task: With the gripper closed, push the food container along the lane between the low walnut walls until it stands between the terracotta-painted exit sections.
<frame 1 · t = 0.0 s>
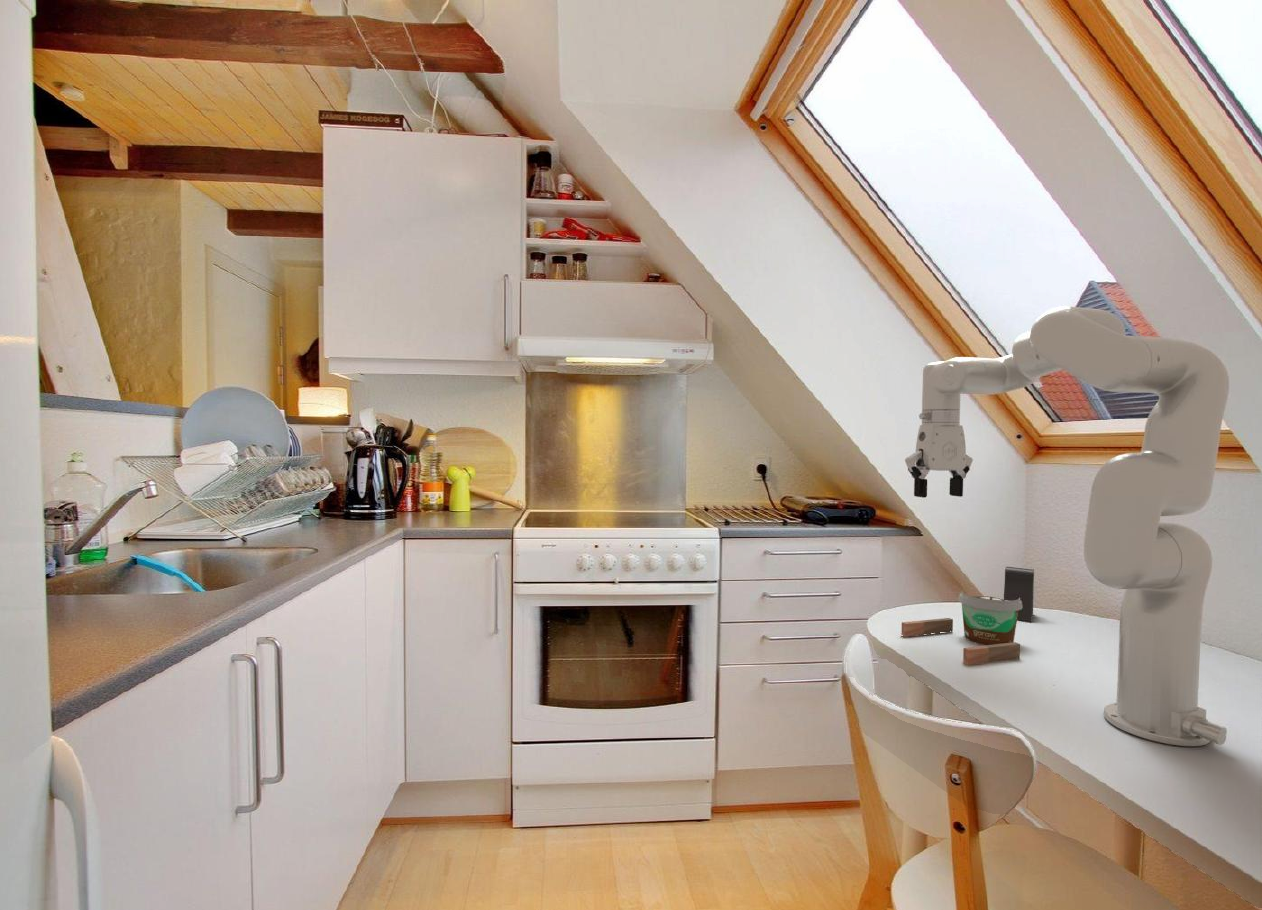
hand: (938, 496, 139), 31 cm above the table, tool pointing down, fingers open, 9 cm apart
lane walls: (957, 646, 133), on the table
phone stand: (1017, 617, 156), on the table
food container: (989, 644, 135), on the table
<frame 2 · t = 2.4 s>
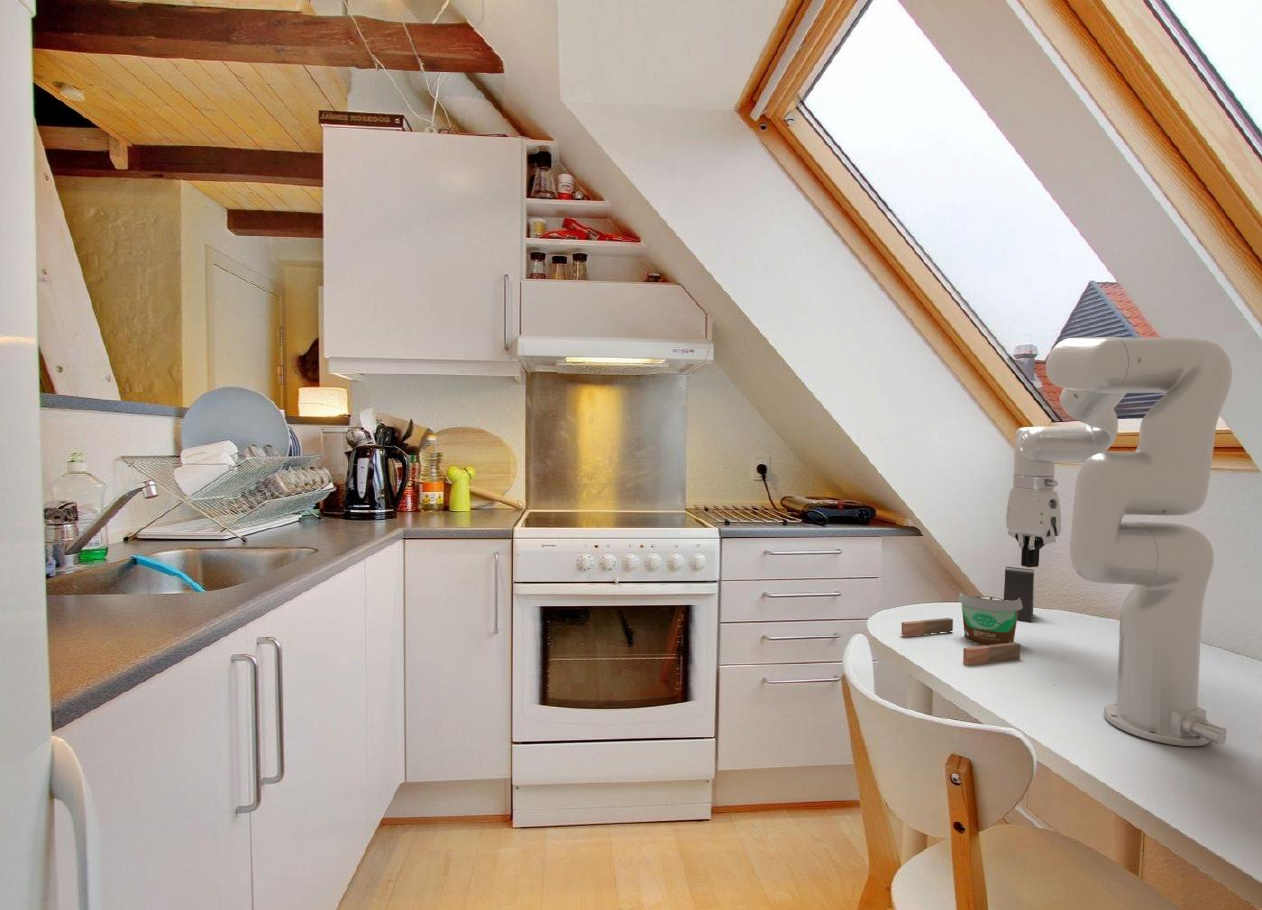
hand: (1029, 566, 138), 16 cm above the table, tool pointing down, fingers closed
nothing on the table moved.
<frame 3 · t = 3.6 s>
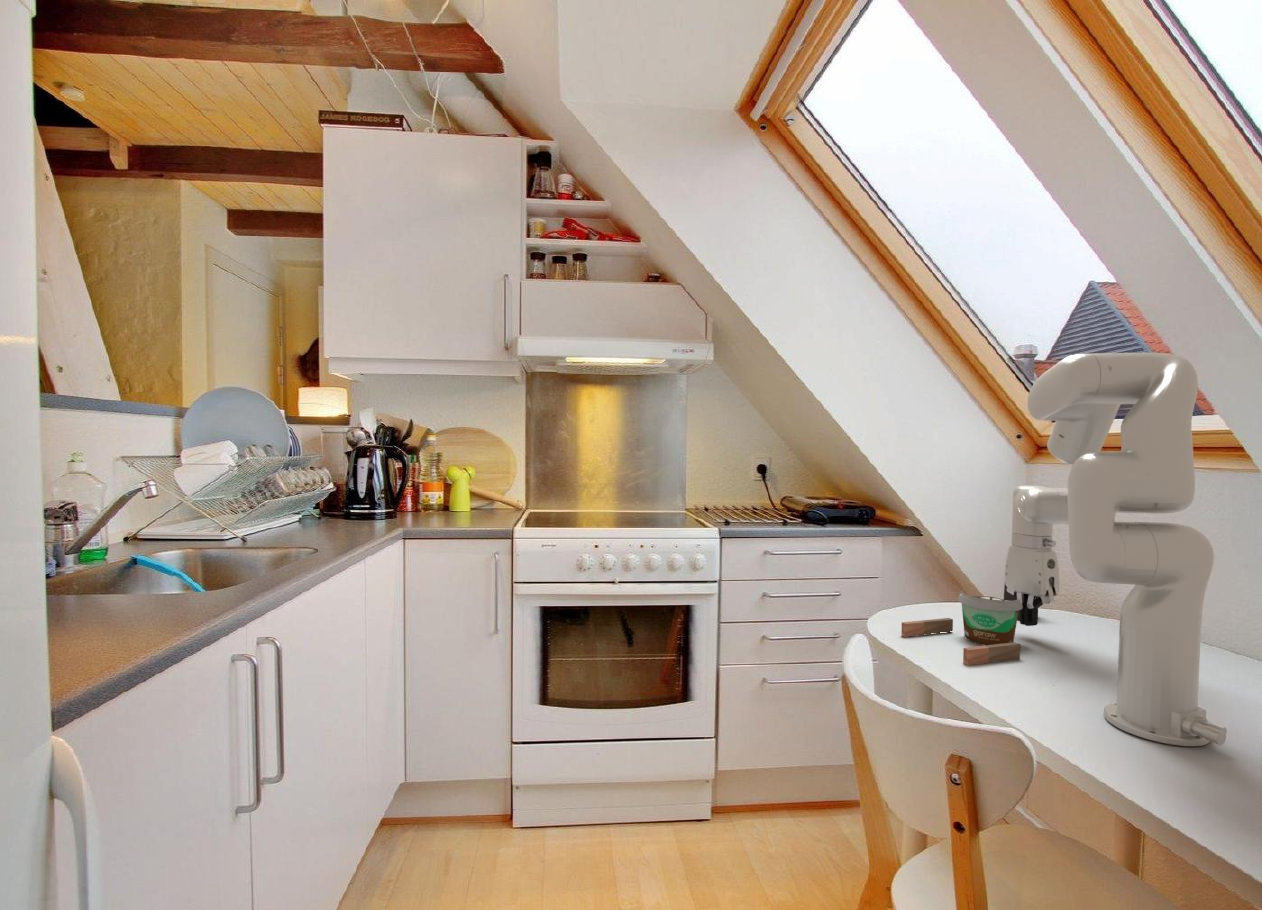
hand: (1028, 624, 138), 3 cm above the table, tool pointing down, fingers closed
nothing on the table moved.
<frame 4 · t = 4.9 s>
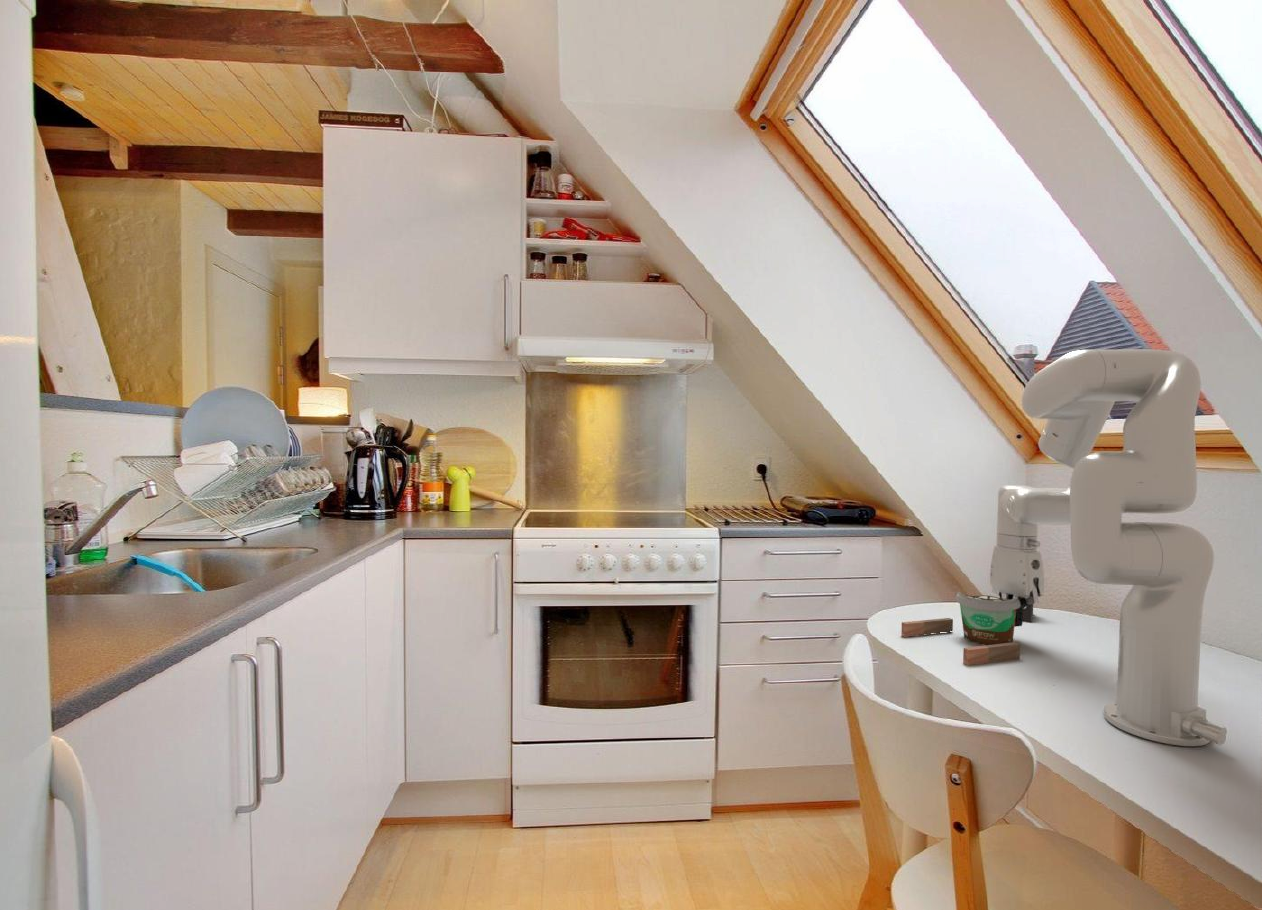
hand: (1013, 625, 137), 3 cm above the table, tool pointing down, fingers closed
food container: (988, 643, 135), on the table, touching gripper
everything else where it was.
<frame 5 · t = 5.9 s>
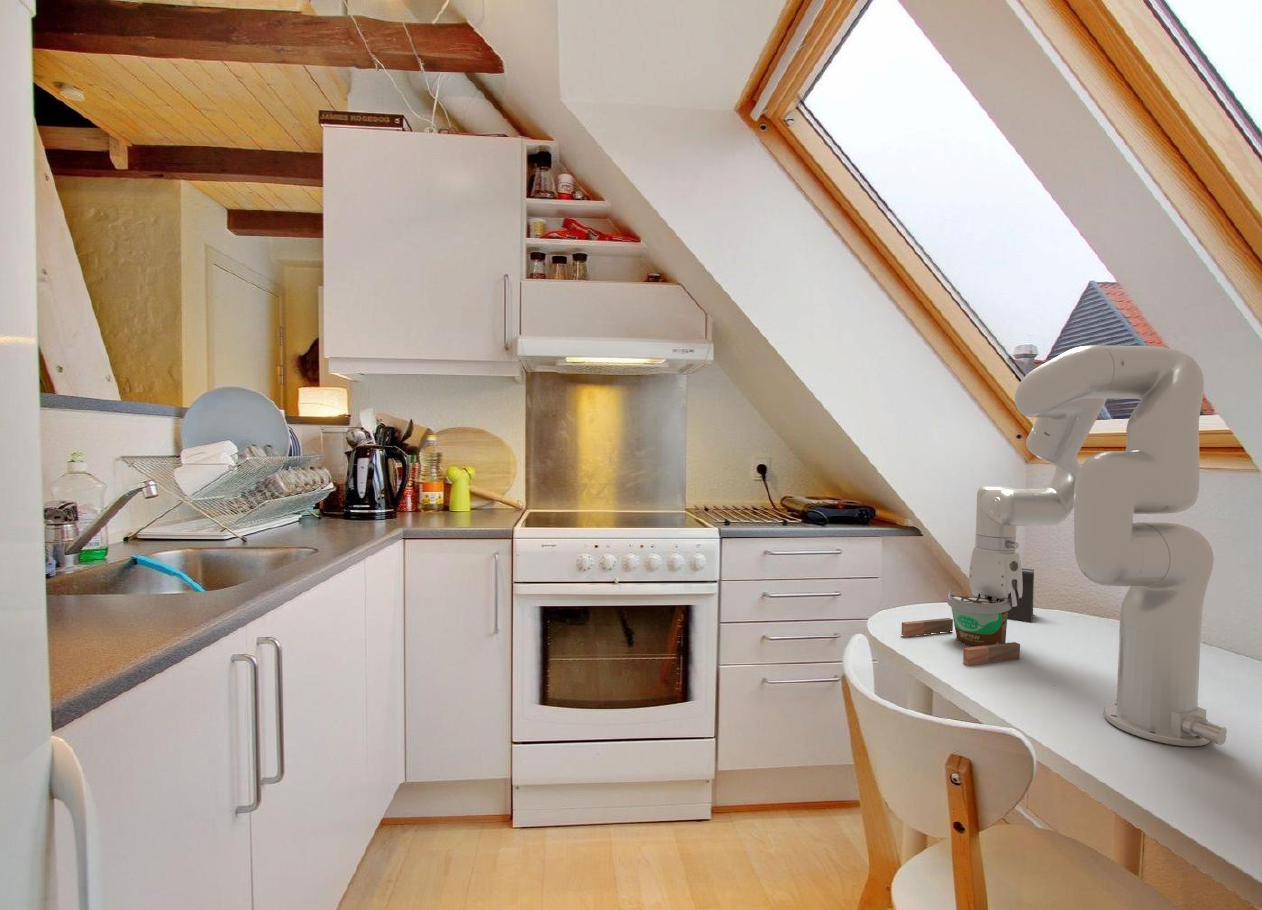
hand: (992, 627, 136), 3 cm above the table, tool pointing down, fingers closed
food container: (976, 644, 134), on the table, touching gripper
everything else where it was.
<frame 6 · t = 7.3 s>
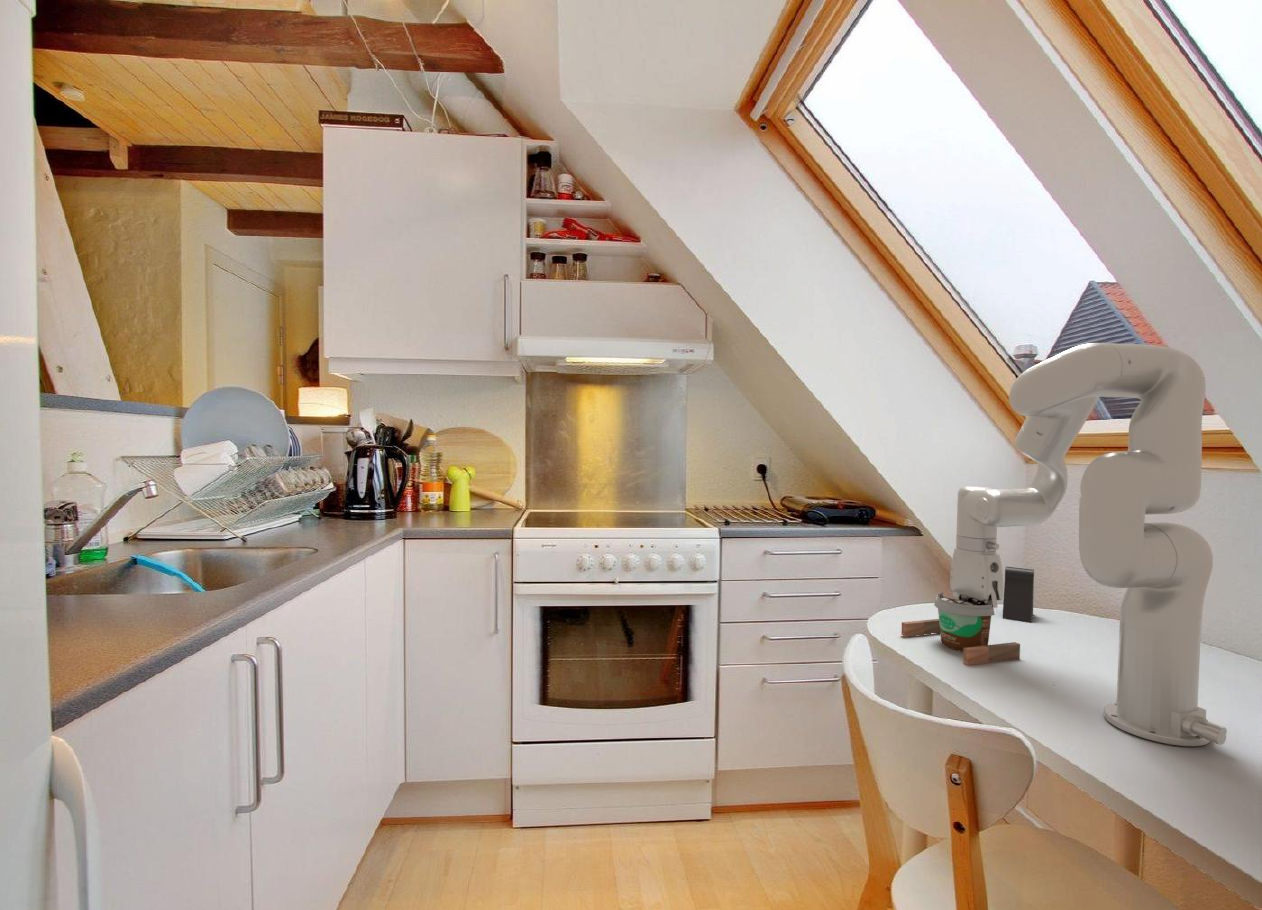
hand: (973, 629, 134), 3 cm above the table, tool pointing down, fingers closed
food container: (956, 647, 132), on the table, touching gripper
everything else where it was.
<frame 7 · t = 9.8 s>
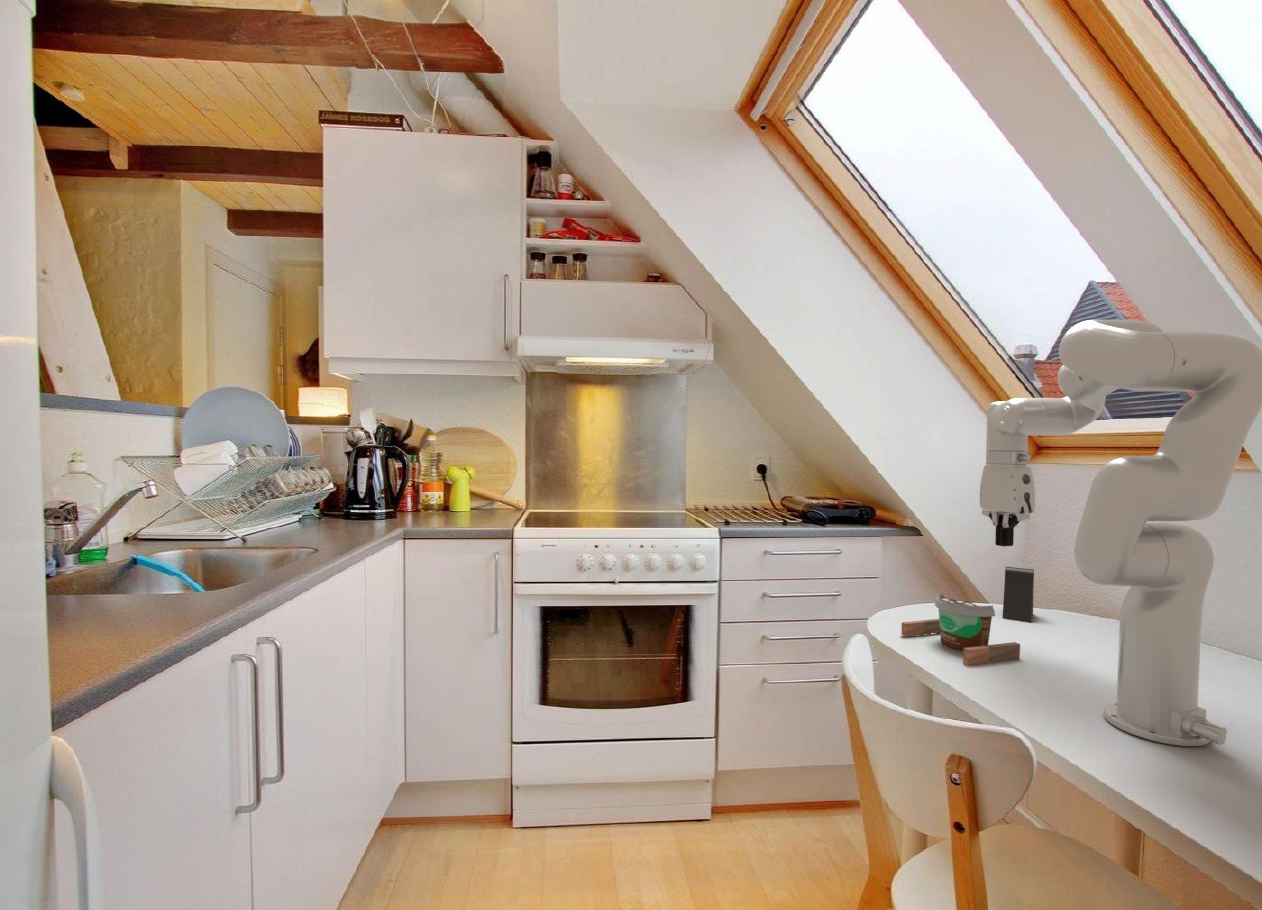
hand: (1004, 545, 134), 21 cm above the table, tool pointing down, fingers closed
food container: (956, 648, 132), on the table
everything else where it was.
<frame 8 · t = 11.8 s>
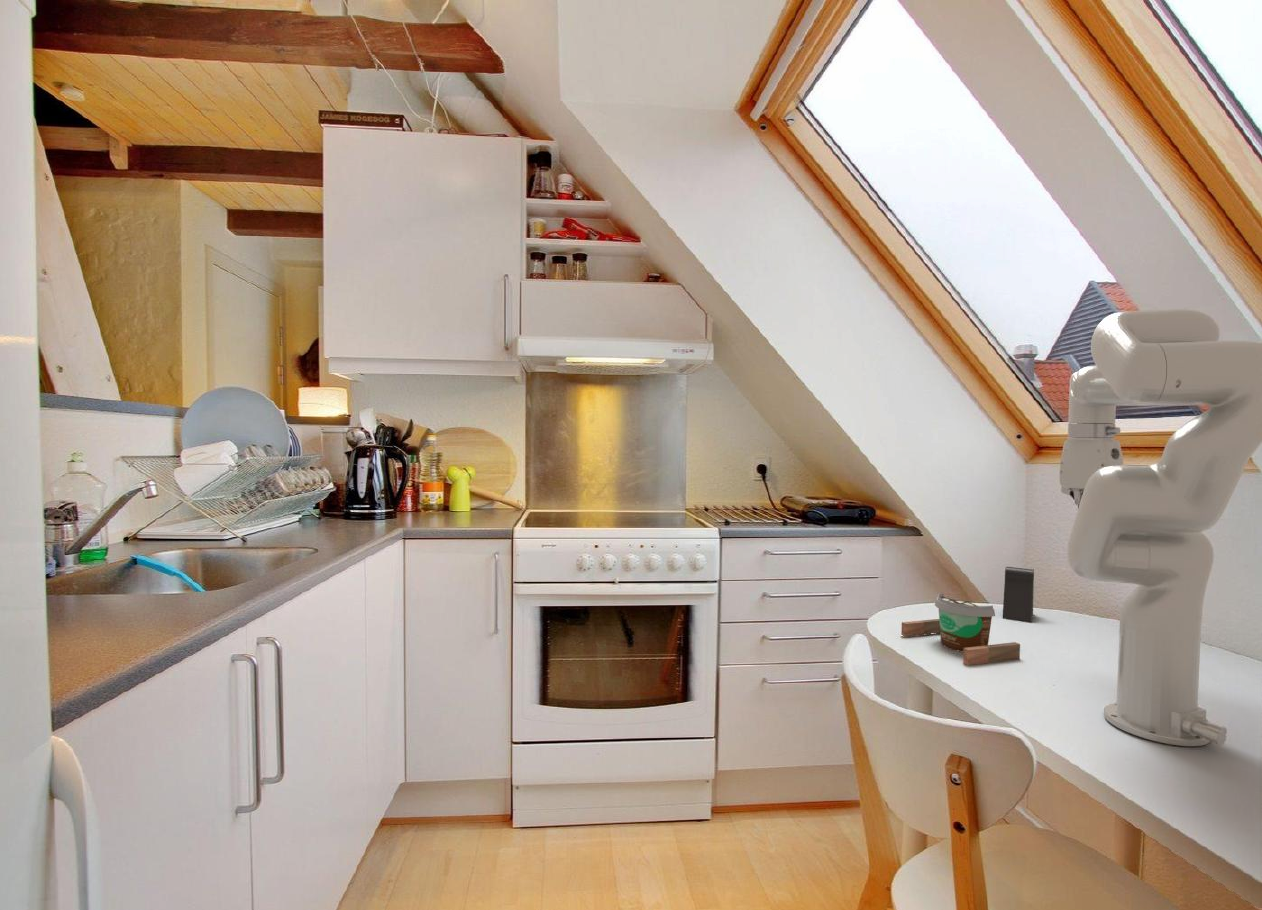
hand: (1087, 525, 125), 27 cm above the table, tool pointing down, fingers closed
nothing on the table moved.
at the end: food container inside the target area (3.8 cm from its centre), on the table; food container tilted 0° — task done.
